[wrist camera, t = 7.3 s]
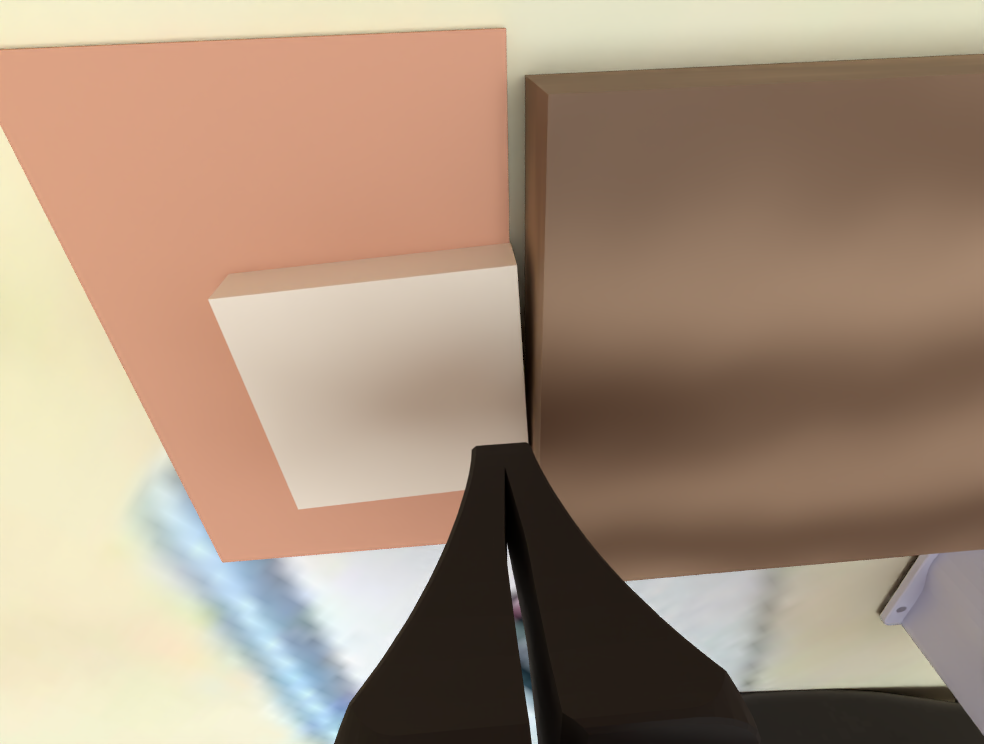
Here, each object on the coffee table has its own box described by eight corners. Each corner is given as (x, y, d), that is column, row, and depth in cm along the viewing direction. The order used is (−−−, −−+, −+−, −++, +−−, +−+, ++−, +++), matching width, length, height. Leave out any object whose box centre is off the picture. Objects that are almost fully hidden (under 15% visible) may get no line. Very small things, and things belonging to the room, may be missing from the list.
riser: (941, 479, 23) (1012, 546, 20) (524, 513, 22) (536, 588, 19) (1209, 43, 14) (1408, 53, 11) (525, 74, 13) (548, 94, 10)
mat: (512, 530, 23) (514, 537, 22) (225, 554, 22) (222, 562, 22) (504, 27, 13) (505, 28, 12) (-24, 50, 12) (-38, 51, 12)
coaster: (524, 450, 20) (530, 482, 18) (308, 475, 20) (298, 509, 18) (510, 242, 15) (517, 265, 14) (228, 273, 15) (207, 299, 14)
